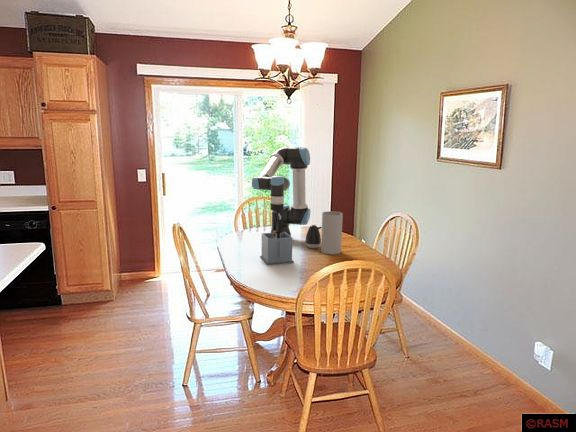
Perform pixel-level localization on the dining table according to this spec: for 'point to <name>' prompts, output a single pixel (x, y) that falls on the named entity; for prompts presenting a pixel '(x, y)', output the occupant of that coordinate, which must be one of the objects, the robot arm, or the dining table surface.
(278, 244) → the grey open bin
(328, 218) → the cylinder vase
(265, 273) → the dining table surface
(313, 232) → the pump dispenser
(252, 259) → the dining table surface
